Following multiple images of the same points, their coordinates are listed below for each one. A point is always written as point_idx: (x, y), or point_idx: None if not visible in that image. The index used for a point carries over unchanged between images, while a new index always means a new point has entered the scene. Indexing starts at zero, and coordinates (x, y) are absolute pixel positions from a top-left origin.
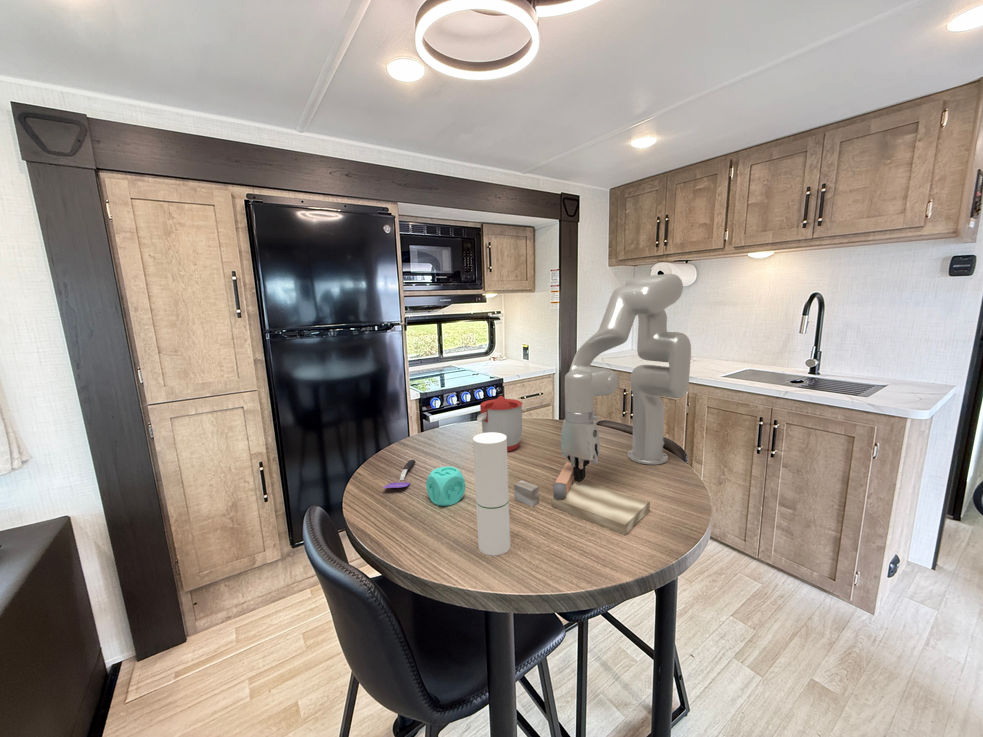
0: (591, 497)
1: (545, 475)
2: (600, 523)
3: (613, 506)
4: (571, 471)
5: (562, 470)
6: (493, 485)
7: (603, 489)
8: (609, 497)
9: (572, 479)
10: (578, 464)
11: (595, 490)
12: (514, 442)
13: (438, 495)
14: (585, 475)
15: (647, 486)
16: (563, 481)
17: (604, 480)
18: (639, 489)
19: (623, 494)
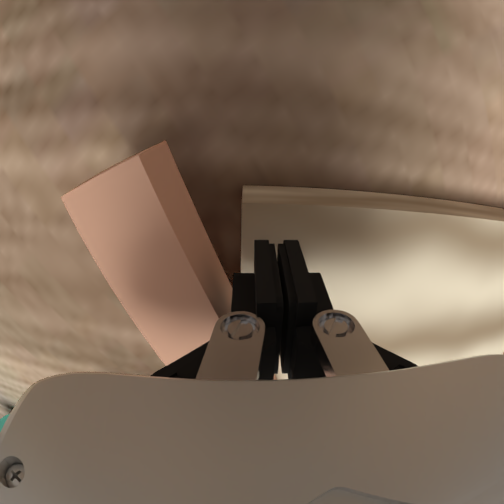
0: (385, 340)
1: (20, 184)
2: None
3: (465, 338)
4: (214, 324)
5: (153, 340)
6: None
7: (421, 242)
8: (453, 295)
9: (224, 280)
10: (274, 360)
11: (387, 278)
12: None
13: None
14: (321, 277)
15: (500, 8)
16: None
17: (319, 8)
18: (493, 48)
19: (499, 235)
